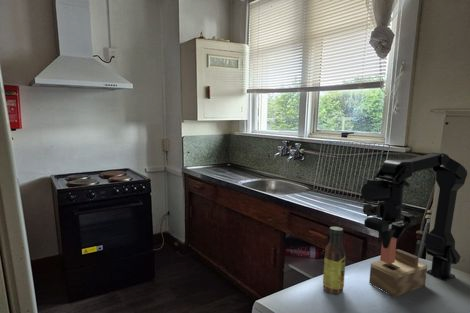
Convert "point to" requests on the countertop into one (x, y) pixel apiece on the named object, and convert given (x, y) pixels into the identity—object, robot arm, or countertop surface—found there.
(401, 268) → the lid
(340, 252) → the sauce bottle
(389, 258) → the block
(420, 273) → the wooden box
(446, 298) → the countertop surface
